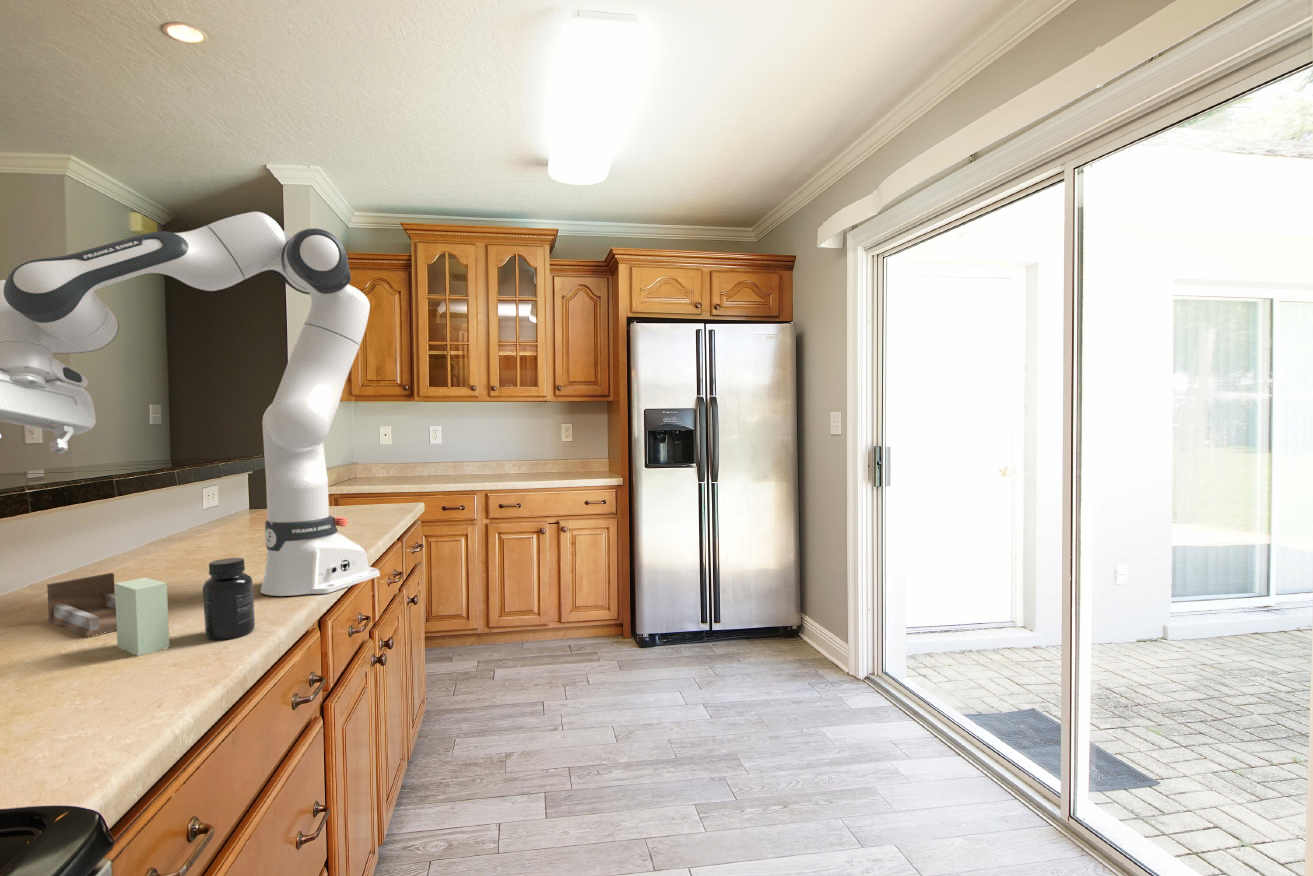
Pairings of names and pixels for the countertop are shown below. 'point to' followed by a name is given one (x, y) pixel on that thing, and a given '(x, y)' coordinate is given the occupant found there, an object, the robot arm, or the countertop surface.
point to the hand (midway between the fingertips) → (26, 446)
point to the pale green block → (142, 615)
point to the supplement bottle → (228, 600)
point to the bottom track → (84, 604)
